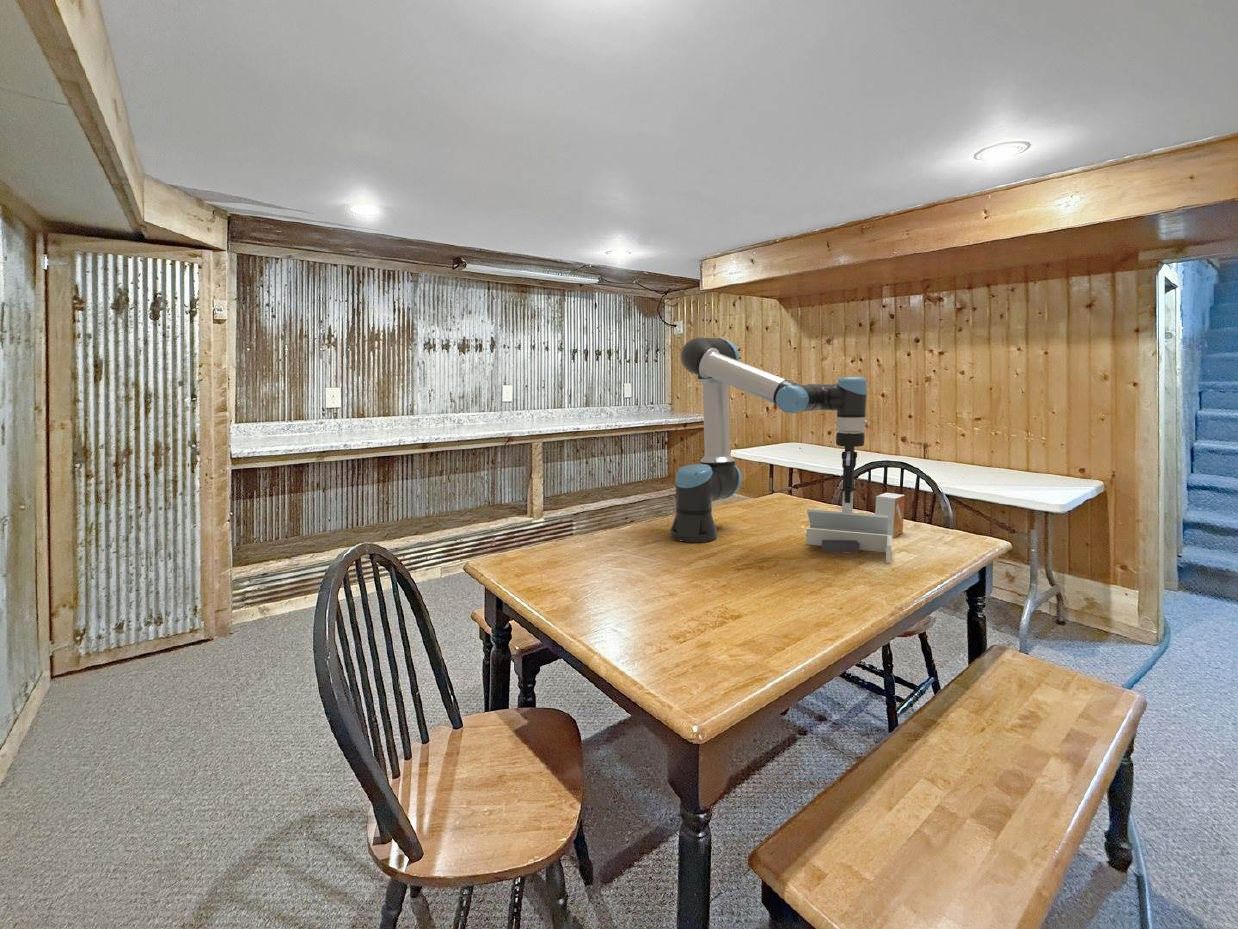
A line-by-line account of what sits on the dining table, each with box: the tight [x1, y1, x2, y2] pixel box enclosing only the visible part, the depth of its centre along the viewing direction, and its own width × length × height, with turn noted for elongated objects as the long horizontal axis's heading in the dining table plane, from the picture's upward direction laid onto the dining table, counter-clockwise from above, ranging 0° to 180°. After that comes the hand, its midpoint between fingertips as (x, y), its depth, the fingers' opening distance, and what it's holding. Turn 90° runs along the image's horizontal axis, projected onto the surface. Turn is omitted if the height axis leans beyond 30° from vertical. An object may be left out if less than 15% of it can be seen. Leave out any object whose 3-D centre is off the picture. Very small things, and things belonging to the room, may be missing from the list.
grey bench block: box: [805, 527, 893, 564], centre depth 174 cm, size 24×14×5 cm, turn 65°
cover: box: [806, 509, 888, 535], centre depth 172 cm, size 22×12×1 cm, turn 65°
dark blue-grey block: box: [821, 540, 860, 553], centre depth 175 cm, size 10×4×3 cm, turn 82°
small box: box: [874, 492, 906, 539], centre depth 192 cm, size 8×6×13 cm
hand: (847, 513), depth 170 cm, fingers closed
